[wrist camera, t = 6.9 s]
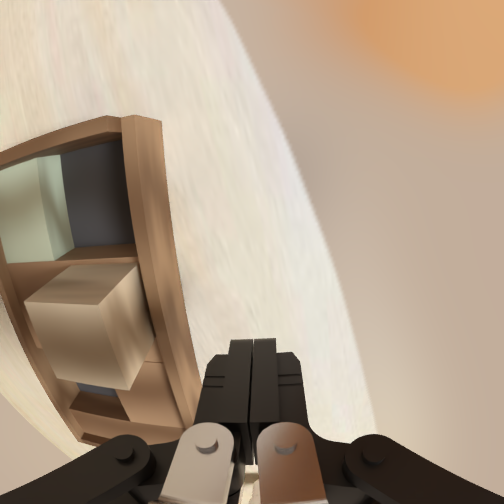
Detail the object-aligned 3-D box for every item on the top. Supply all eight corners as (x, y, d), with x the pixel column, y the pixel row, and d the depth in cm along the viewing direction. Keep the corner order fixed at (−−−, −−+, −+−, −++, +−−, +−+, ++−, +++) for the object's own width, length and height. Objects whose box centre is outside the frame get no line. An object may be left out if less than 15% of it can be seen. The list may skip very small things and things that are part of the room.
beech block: (156, 336, 14) (129, 390, 10) (92, 332, 14) (56, 377, 11) (139, 262, 13) (98, 304, 9) (71, 265, 13) (23, 301, 9)
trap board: (213, 431, 20) (206, 477, 16) (91, 415, 21) (73, 451, 16) (161, 121, 13) (121, 111, 9) (9, 162, 14) (-41, 172, 9)
